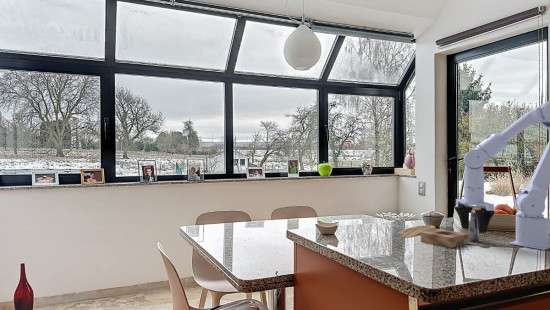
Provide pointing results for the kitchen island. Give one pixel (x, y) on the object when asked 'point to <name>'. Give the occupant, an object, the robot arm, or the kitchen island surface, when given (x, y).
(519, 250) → the kitchen island surface
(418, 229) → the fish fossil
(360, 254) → the kitchen island surface
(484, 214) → the robot arm
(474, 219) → the steel peg
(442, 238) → the walnut hole block
